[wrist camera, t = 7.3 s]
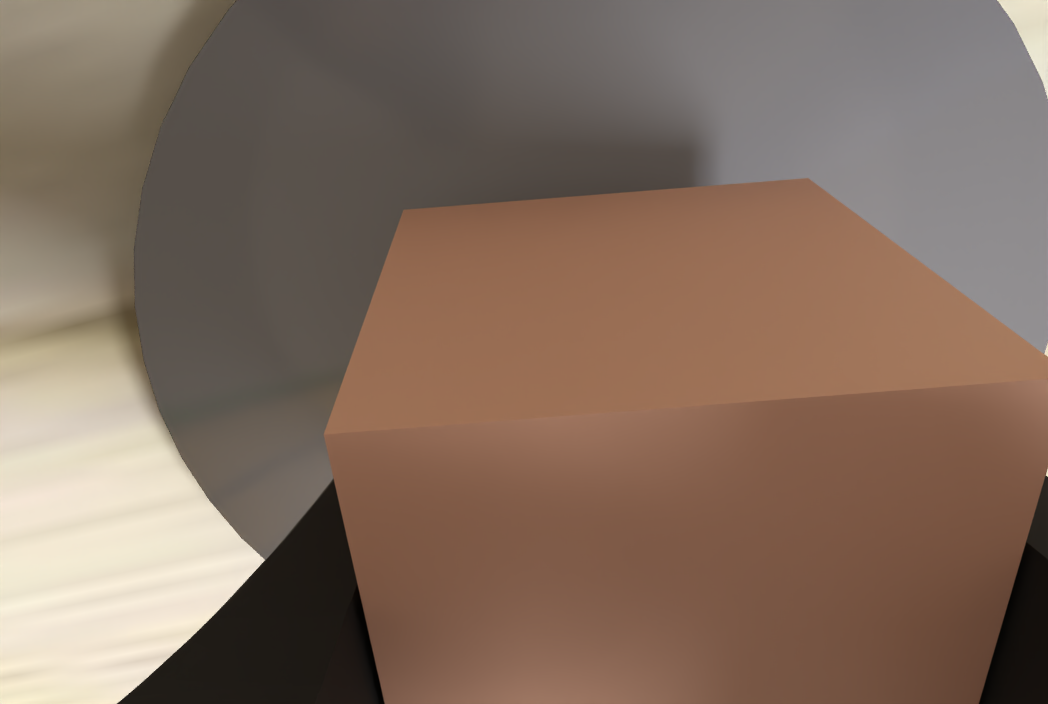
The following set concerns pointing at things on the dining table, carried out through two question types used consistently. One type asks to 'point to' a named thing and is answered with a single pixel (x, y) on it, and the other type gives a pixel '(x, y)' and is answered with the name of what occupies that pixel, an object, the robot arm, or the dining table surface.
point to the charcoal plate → (539, 173)
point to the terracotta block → (681, 456)
